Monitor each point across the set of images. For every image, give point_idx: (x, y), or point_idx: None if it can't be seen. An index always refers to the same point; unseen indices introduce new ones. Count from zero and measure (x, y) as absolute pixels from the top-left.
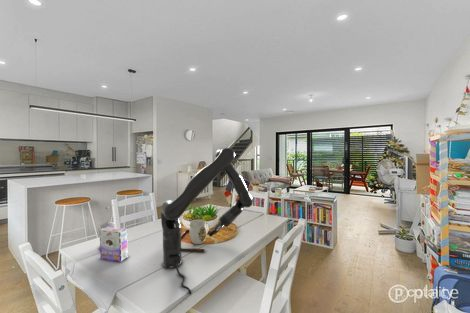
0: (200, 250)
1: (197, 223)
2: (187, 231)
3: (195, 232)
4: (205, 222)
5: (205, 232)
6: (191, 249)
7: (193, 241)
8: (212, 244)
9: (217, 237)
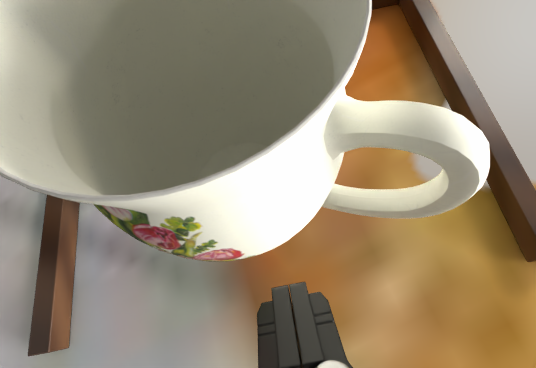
0: (39, 311)
1: (306, 8)
2: (401, 2)
3: (77, 141)
4: (287, 148)
5: (195, 258)
6: (46, 219)
7: (168, 163)
8: (237, 360)
9: (438, 340)
